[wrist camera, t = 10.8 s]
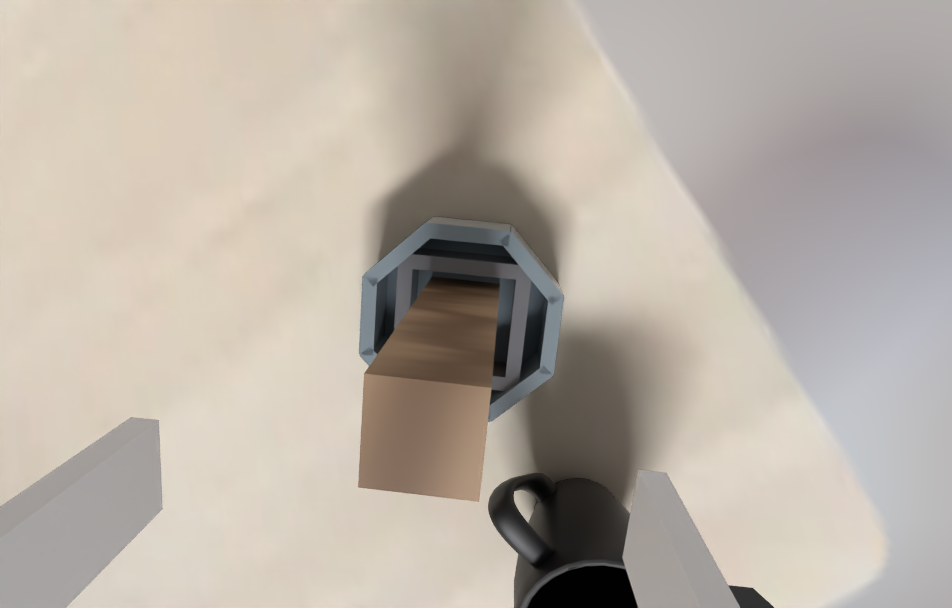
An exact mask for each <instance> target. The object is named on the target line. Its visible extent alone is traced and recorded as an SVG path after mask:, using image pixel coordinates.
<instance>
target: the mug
mask: <svg viewBox="0 0 952 608" xmlns="http://www.w3.org/2000/svg"><path fill="white" fill-rule="evenodd" d="M517 490H525V491H528V492H529V493H531V494H532V495H533V496H534V497H535V498H536V499H537V500H538V501H537V503H536V506H535V509H534V512H533V514H532V516H531V518H530V520H529V523H527V521H526V520H525V519H524V518H523V516H522V515H521V513H520V512H519V510H518V509H517V507H516V505H515V502H514V491H517ZM488 510H489V515H490V518H491V520H492V522H493V524H494V526H495V528H496V529H497V531H498V532H499V533H500V535H501V536H502V537H503V538H504V539H505V541H506V542H507V543H508V544H509V545H510V546H511V547H512V548H513V549H514V550H515V551H516V552H517V553H518V560H517V566H516V572H515V579H514V608H638V605H637V602H636V599H635V596H634V593H633V590H632V587H631V583H630V580H629V577H628V574H627V571H626V568H625V564H624V561H623V558H622V557H623V552H624V546H625V540H626V535H627V529H628V523H629V518H630V513H629V512H628V511H627V510H626V508H625V507H624V506H623V505H622V504H621V503H620V502H619V501H617V500H616V499H615V497H614V496H613V494H612V493H611V492H610V491H609V490H608V489H607V488H605V487H604V486H602V485H600V484H599V483H597V482H594V481H591V480H588V479H581V478H574V479H567V480H563V481H560V482H557V483H555V484H554V483H553V482H552V481H551V480H550V479H549V478H548V477H547V476H545V475H544V474H541V473H532V474H527V475H522V476H518V477H514V478H511V479H509V480H507V481H505V482H503V483H501V484H500V485H499V486H498V487H497V488H495V490H494V491H493V493H492V494H491V496H490V498H489V503H488Z"/></svg>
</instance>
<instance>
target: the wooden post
mask: <svg viewBox="0 0 952 608" xmlns="http://www.w3.org/2000/svg"><path fill="white" fill-rule="evenodd" d="M499 292H500V284H498V283H489V282H480V281H470V280H461V279H451V278H442V277H433V276H432V277H431V278H430V280H429V281H428V283H427V284H426V286H425V287H424V289H423V290H422V291H421V293H420V294H419V296H418V297H417V299H416V300H415V301H414V303H413V304H412V306H411V307H410V309H409V310H408V312H407V313H406V314H405V316H404V317H403V319H402V320H401V322H400V323H399V324H398V326H397V327H396V329H395V330H394V332H393V333H392V334H391V336H390V337H389V339H388V340H387V342H386V343H385V345H384V346H383V347H382V349H381V350H380V352H379V353H378V355H377V356H376V357H375V359H374V360H373V362H372V363H371V365H370V366H369V367H368V369H367V370H366V372H365V373H364V388H363V407H362V426H361V445H360V464H359V483H358V487H360V488H368V489H377V490H385V491H394V492H402V493H410V494H419V495H427V496H436V497H444V498H452V499H461V500H469V501H478V502H479V497H480V488H481V479H482V470H483V461H484V451H485V442H486V433H487V424H488V415H489V406H490V397H491V388H492V376H493V364H494V352H495V340H496V328H497V316H498V304H499Z"/></svg>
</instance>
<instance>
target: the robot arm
mask: <svg viewBox="0 0 952 608" xmlns="http://www.w3.org/2000/svg"><path fill="white" fill-rule="evenodd" d="M161 510H162V487H161V462H160V438H159V420H153V419H143V418H133V417H131V418H129V419H128V420H126V421H125V422H124V423H122V424H121V425H119V426H118V427H116V428H115V429H113V430H112V431H110V432H109V433H107V434H106V435H105V436H103V437H102V438H100V439H99V440H97V441H96V442H94V443H93V444H91V445H90V446H88V447H87V448H85V449H84V450H83V451H81V452H80V453H78V454H77V455H75V456H74V457H72V458H71V459H69V460H68V461H66V462H65V463H63V464H62V465H61V466H59V467H58V468H56V469H55V470H53V471H52V472H50V473H49V474H47V475H46V476H44V477H43V478H42V479H40V480H39V481H37V482H36V483H34V484H33V485H31V486H30V487H28V488H27V489H25V490H24V491H22V492H21V493H20V494H18V495H17V496H15V497H14V498H12V499H11V500H9V501H8V502H6V503H5V504H3V505H2V506H1V507H0V608H66V607H67V606H68V605H69V604H70V603H71V602H72V601H73V600H74V599H75V598H76V597H77V596H78V595H79V594H80V593H81V592H82V591H83V590H84V589H85V588H86V586H87V585H88V584H89V583H90V582H91V581H92V580H93V579H94V578H95V577H96V576H97V575H98V574H99V573H100V572H101V571H102V570H103V569H104V568H105V567H106V566H107V565H108V564H109V563H110V562H111V561H112V560H113V559H114V558H115V557H116V556H117V555H118V554H119V553H120V552H121V551H122V550H123V549H124V548H125V547H126V546H127V545H128V544H129V543H130V542H131V541H132V540H133V539H134V538H135V537H136V536H137V535H138V533H139V532H140V531H141V530H142V529H143V528H144V527H145V526H146V525H147V524H148V523H149V522H150V521H151V520H152V519H153V518H154V517H155V516H156V515H157V514H158V513H159V512H160V511H161ZM622 558H623V561H624V564H625V568H626V571H627V574H628V577H629V580H630V583H631V587H632V590H633V593H634V596H635V599H636V602H637V605H638V608H774V607H773V606H772V605H771V604H770V603H769V602H768V601H766V600H765V599H764V598H763V597H762V596H761V595H760V594H759V593H758V592H757V591H755V590H754V589H753V588H748V587H739V586H729V585H728V584H727V582H726V581H725V579H724V577H723V575H722V573H721V571H720V570H719V568H718V566H717V564H716V562H715V561H714V559H713V557H712V555H711V553H710V551H709V550H708V548H707V546H706V544H705V542H704V540H703V539H702V537H701V535H700V533H699V531H698V529H697V528H696V526H695V524H694V522H693V520H692V519H691V517H690V515H689V513H688V511H687V509H686V508H685V506H684V504H683V502H682V500H681V498H680V497H679V495H678V493H677V491H676V489H675V488H674V486H673V484H672V482H671V480H670V478H669V477H668V475H667V473H665V472H655V471H645V470H638V473H637V478H636V484H635V490H634V495H633V501H632V506H631V512H630V518H629V523H628V529H627V535H626V540H625V546H624V552H623V557H622Z"/></svg>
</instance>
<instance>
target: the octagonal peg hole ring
mask: <svg viewBox="0 0 952 608" xmlns="http://www.w3.org/2000/svg"><path fill="white" fill-rule="evenodd" d="M432 276H433V277H442V278H451V279H461V280H470V281H480V282H489V283H498V284H500V292H499V304H498V316H497V328H496V340H495V352H494V364H493V376H492V388H491V397H490V406H489V415H488V422H490V421H493V420H494V419H496V418H497V417H498V416H500V415H501V414H502V413H504V412H505V411H506V410H508V409H509V408H510V407H512V406H513V405H515V404H516V403H517V402H519V401H520V400H521V399H523V398H524V397H525V396H527V395H528V394H529V393H531V392H532V391H534V390H535V389H536V388H538V387H539V386H540V385H542V384H543V383H544V382H546V381H547V380H548V379H550V378H551V377H553V375H554V369H555V361H556V354H557V346H558V339H559V331H560V324H561V316H562V309H563V301H564V295H563V293H562V290H561V288H560V286H559V283H558V282H557V280H556V279H555V278H554V277H553V275H552V274H551V273H550V272H549V271H548V269H547V268H546V267H545V266H544V264H543V263H542V262H541V261H540V259H539V258H538V257H537V256H536V254H535V253H534V252H533V251H532V250H531V248H530V247H529V246H528V245H527V243H526V242H525V241H524V240H523V238H522V237H521V236H520V235H519V233H518V232H517V231H516V230H515V229H514V227H513V226H512V225H510V224H505V223H495V222H485V221H475V220H464V219H454V218H444V217H433V218H431V219H430V220H428V221H427V222H425V223H424V224H423V225H422V226H420V227H419V228H418V229H417V230H416V231H415V232H413V233H412V234H411V235H410V236H409V237H408V238H406V239H405V240H404V241H403V242H402V243H400V244H399V245H398V246H397V247H396V248H395V249H393V250H392V251H391V252H390V253H389V254H388V255H386V256H385V257H384V258H383V259H382V260H380V261H379V262H378V263H377V264H376V265H375V266H373V267H372V268H371V269H370V270H369V271H367V272H366V273H365V274H364V275H363V276H362V298H361V320H360V342H359V354H360V356H361V358H362V359H363V360H364V361H365V362H366V363H367V364H368V365H369V366H370V365H371V363H372V362H373V360H374V359H375V357H376V356H377V355H378V353H379V352H380V350H381V349H382V347H383V346H384V345H385V343H386V342H387V340H388V339H389V337H390V336H391V334H392V333H393V332H394V330H395V329H396V327H397V326H398V324H399V323H400V322H401V320H402V319H403V317H404V316H405V314H406V313H407V312H408V310H409V309H410V307H411V306H412V304H413V303H414V301H415V300H416V299H417V297H418V296H419V294H420V293H421V291H422V290H423V289H424V287H425V286H426V284H427V283H428V281H429V280H430V278H431V277H432Z"/></svg>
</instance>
